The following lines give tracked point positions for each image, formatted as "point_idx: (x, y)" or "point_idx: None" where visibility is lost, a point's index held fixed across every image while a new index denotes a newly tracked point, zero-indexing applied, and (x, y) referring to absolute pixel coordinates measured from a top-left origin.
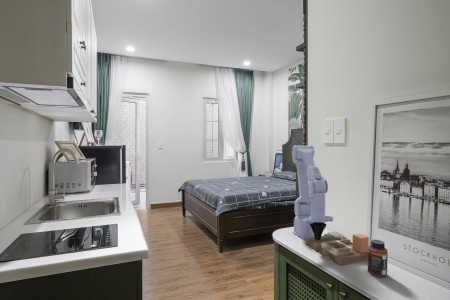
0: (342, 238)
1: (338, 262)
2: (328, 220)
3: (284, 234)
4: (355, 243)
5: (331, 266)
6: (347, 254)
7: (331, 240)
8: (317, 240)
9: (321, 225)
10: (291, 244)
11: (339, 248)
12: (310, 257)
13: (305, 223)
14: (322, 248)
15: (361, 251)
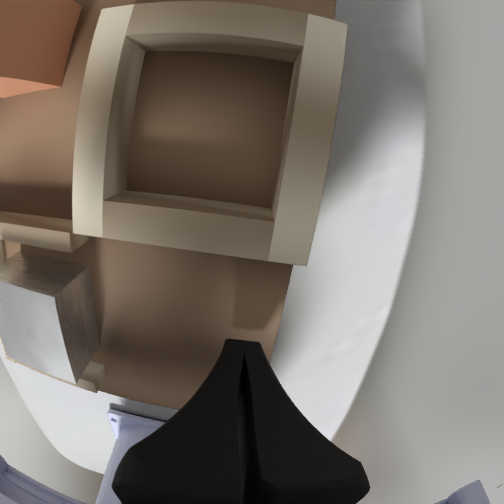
0: (7, 262)
1: None
2: (26, 489)
3: None
4: (25, 40)
5: (394, 47)
6: None
7: (90, 306)
8: (195, 368)
9: (238, 492)
10: (335, 407)
11: (253, 33)
12: (411, 222)
13: (478, 496)
14: None
15: (67, 2)
